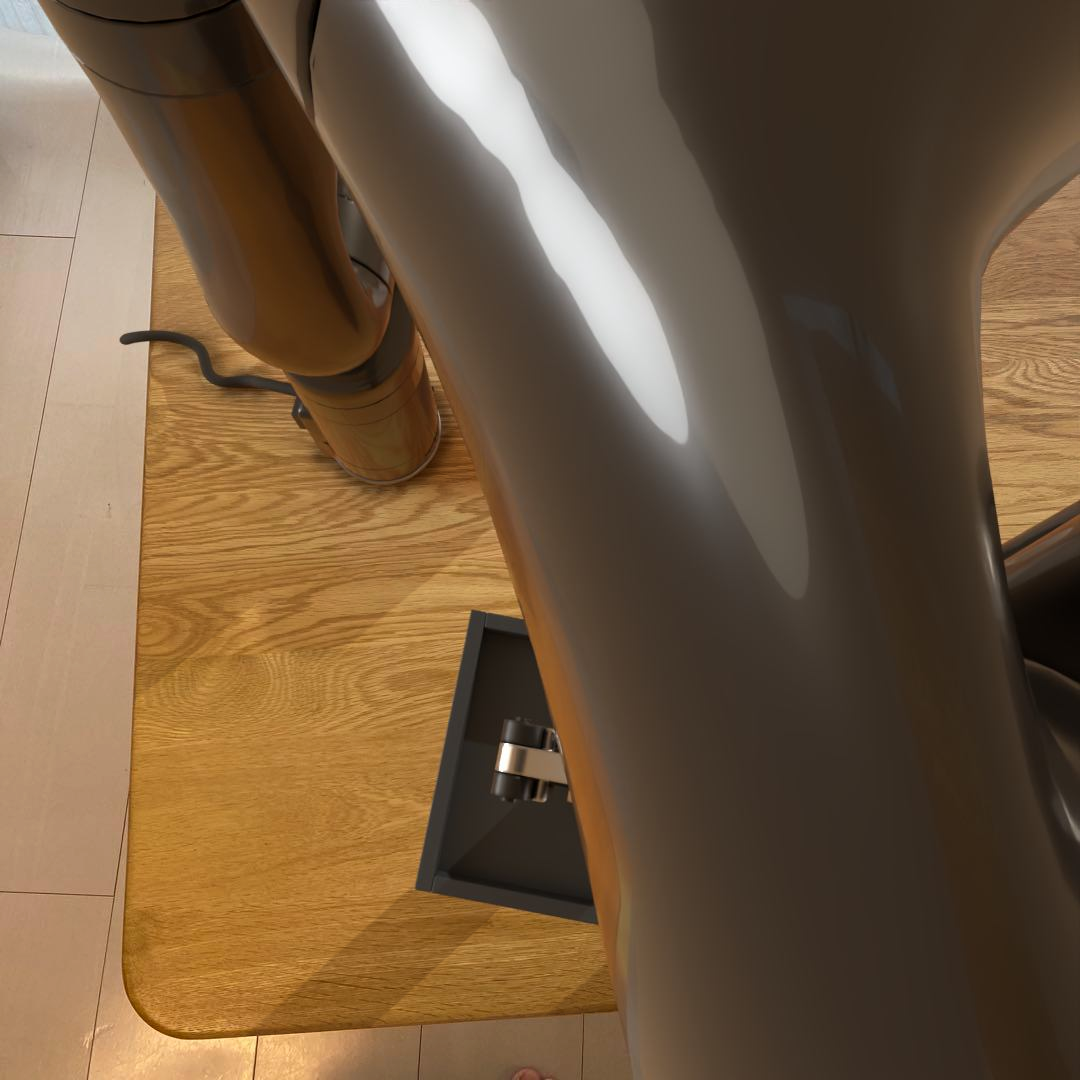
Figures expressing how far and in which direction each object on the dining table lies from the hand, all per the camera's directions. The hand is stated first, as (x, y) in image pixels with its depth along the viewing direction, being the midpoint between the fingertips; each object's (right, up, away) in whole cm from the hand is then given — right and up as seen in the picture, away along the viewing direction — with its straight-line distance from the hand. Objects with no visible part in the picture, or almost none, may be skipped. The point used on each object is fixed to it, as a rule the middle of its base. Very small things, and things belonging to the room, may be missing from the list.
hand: (657, 784), depth 40 cm
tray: (-1, -8, +32) cm, 33 cm away
